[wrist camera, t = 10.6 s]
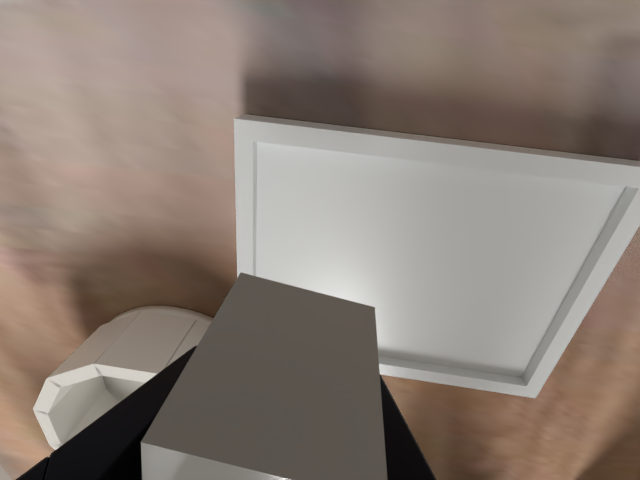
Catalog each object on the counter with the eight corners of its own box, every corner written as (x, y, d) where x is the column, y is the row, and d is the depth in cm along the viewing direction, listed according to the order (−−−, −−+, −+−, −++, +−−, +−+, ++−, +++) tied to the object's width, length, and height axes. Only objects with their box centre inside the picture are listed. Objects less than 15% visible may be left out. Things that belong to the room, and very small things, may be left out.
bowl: (276, 321, 20) (253, 388, 16) (270, 445, 26) (252, 519, 21) (78, 292, 21) (4, 349, 16) (115, 419, 26) (68, 486, 22)
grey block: (374, 307, 9) (389, 504, 5) (338, 395, 10) (327, 594, 6) (240, 272, 8) (140, 442, 5) (226, 366, 10) (144, 549, 6)
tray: (640, 161, 14) (672, 170, 12) (522, 375, 20) (535, 398, 18) (246, 114, 15) (233, 118, 13) (247, 333, 21) (238, 352, 19)
